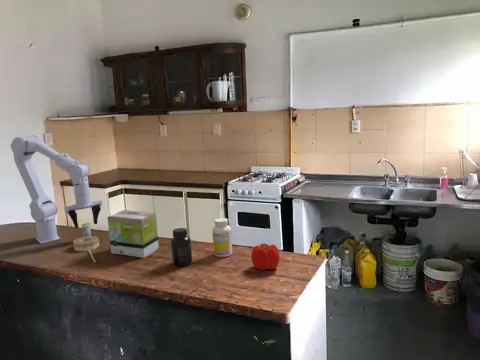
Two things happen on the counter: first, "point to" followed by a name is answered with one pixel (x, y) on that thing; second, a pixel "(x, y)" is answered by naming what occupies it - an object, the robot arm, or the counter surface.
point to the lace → (91, 256)
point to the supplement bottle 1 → (181, 248)
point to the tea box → (133, 233)
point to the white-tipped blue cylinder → (86, 229)
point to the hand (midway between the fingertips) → (86, 225)
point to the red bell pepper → (265, 256)
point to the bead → (86, 243)
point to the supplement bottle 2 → (222, 238)
